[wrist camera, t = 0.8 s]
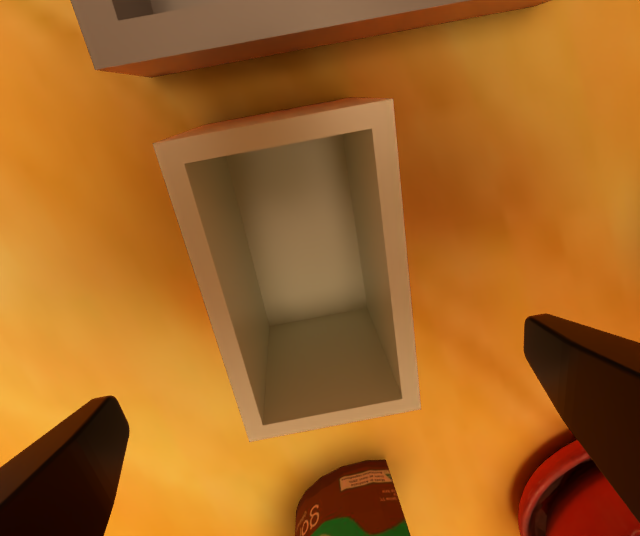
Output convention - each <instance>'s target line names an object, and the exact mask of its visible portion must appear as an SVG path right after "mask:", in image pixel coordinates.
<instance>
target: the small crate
mask: <svg viewBox="0 0 640 536" xmlns="http://www.w3.org/2000/svg"><path fill="white" fill-rule="evenodd" d="M153 147H154V150H155V153H156V156H157V159H158V162H159V165H160V168H161V171H162V174H163V178H164V181H165V184H166V187H167V190H168V193H169V196H170V199H171V202H172V205H173V208H174V211H175V214H176V217H177V221H178V224H179V227H180V230H181V233H182V236H183V239H184V242H185V245H186V248H187V251H188V254H189V257H190V260H191V264H192V267H193V270H194V273H195V276H196V279H197V282H198V285H199V288H200V291H201V294H202V297H203V300H204V303H205V307H206V310H207V313H208V316H209V319H210V322H211V325H212V328H213V331H214V334H215V337H216V340H217V343H218V346H219V350H220V353H221V356H222V359H223V362H224V365H225V368H226V371H227V374H228V377H229V380H230V383H231V386H232V389H233V393H234V396H235V399H236V402H237V405H238V408H239V411H240V414H241V417H242V420H243V423H244V426H245V429H246V433H247V436H248V439H249V442H251V441H257V440H262V439H267V438H272V437H278V436H283V435H288V434H293V433H299V432H304V431H309V430H314V429H319V428H325V427H330V426H335V425H340V424H346V423H351V422H356V421H361V420H367V419H372V418H377V417H382V416H387V415H393V414H398V413H403V412H408V411H414V410H419V409H421V403H420V392H419V381H418V370H417V359H416V348H415V337H414V326H413V314H412V303H411V292H410V281H409V270H408V259H407V248H406V237H405V226H404V214H403V203H402V192H401V181H400V170H399V159H398V148H397V137H396V125H395V114H394V103H393V99H388V98H355V97H350V98H345V99H339V100H334V101H329V102H323V103H318V104H313V105H307V106H302V107H297V108H291V109H286V110H280V111H275V112H270V113H264V114H259V115H254V116H248V117H243V118H238V119H232V120H227V121H222V122H216V123H211V124H206V125H202V126H200V127H197V128H194V129H191V130H189V131H186V132H183V133H180V134H178V135H175V136H172V137H169V138H167V139H164V140H161V141H158V142H155V143H153Z"/></svg>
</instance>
